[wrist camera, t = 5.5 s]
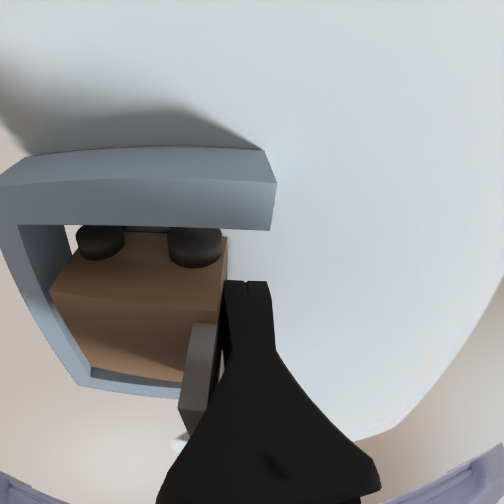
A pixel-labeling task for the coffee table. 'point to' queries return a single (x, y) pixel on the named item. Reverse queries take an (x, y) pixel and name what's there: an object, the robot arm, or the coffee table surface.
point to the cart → (149, 306)
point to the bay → (120, 222)
